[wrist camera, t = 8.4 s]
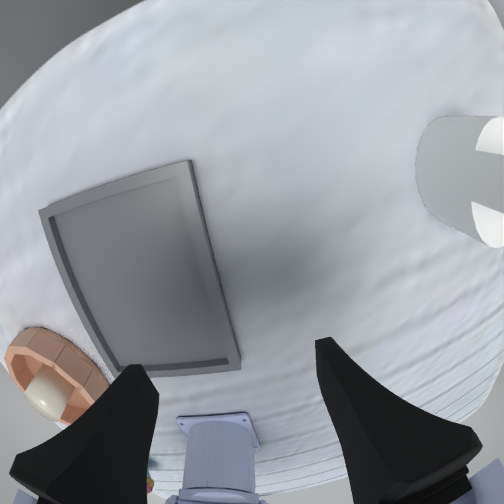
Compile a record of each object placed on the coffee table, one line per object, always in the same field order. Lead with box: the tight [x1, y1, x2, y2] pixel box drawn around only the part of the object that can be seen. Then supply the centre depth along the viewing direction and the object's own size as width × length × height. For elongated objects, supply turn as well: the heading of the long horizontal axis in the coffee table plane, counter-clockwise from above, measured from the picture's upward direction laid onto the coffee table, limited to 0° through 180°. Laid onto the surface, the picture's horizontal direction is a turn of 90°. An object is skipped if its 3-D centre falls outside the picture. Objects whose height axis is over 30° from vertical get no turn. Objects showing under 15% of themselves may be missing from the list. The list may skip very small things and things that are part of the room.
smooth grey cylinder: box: [24, 363, 75, 422], centre depth 19 cm, size 5×5×5 cm
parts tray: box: [38, 160, 241, 378], centre depth 18 cm, size 16×12×1 cm
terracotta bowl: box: [4, 327, 110, 426], centre depth 21 cm, size 13×13×4 cm
